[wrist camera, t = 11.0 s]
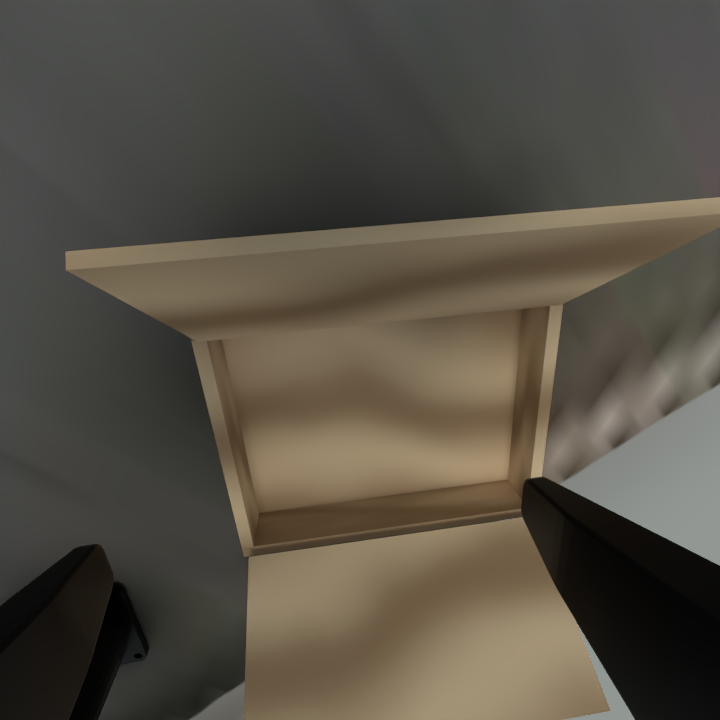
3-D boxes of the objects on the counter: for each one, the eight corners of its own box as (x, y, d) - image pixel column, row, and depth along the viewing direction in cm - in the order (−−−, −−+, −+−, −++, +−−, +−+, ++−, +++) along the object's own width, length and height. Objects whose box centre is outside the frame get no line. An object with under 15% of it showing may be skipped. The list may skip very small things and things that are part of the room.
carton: (513, 481, 25) (536, 514, 22) (251, 517, 24) (243, 556, 21) (532, 278, 20) (565, 290, 18) (204, 309, 19) (187, 327, 16)
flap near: (752, 211, 9) (748, 194, 9) (66, 270, 8) (65, 251, 8) (561, 304, 17) (559, 295, 17) (197, 341, 16) (196, 331, 16)
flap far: (535, 515, 22) (532, 518, 22) (248, 556, 21) (251, 559, 21) (610, 710, 17) (604, 709, 17) (242, 779, 16) (244, 776, 16)
